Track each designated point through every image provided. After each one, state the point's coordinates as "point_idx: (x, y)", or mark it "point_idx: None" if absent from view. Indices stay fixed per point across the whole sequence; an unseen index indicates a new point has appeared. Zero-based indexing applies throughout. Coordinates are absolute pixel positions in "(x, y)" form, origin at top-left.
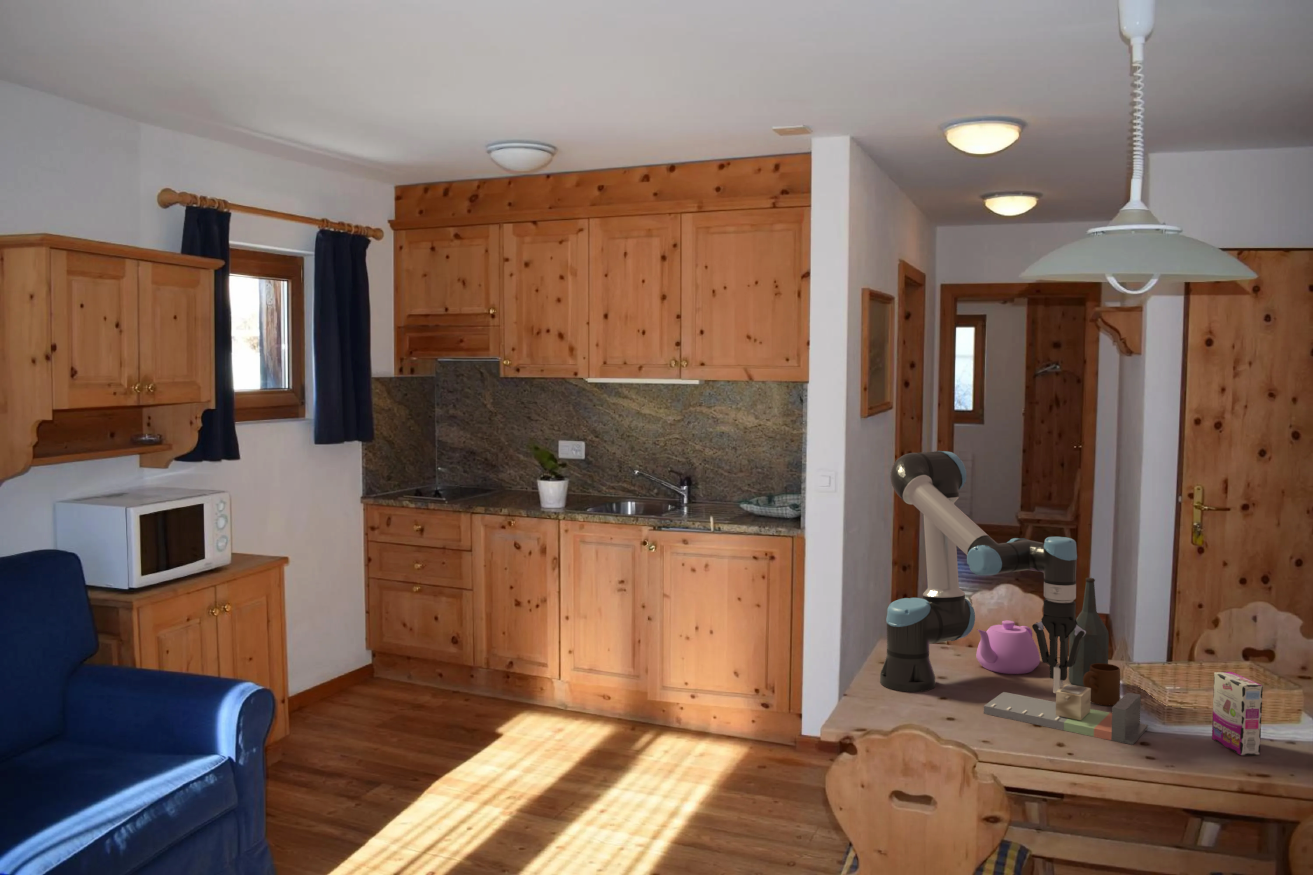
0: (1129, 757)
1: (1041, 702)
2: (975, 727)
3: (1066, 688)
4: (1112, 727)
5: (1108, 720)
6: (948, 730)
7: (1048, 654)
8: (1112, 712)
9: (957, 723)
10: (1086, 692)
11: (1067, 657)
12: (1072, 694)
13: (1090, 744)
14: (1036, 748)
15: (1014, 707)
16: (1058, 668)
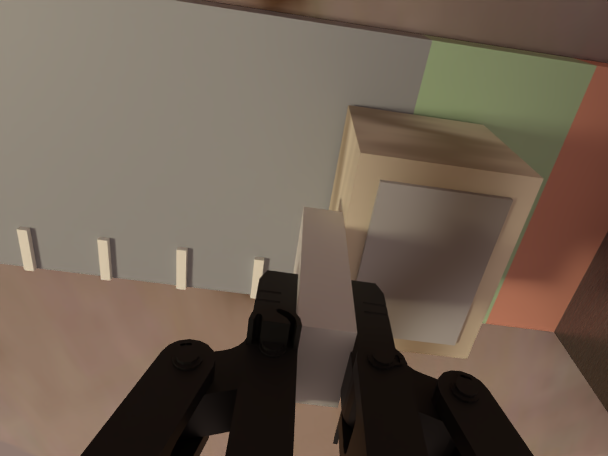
0: (575, 415)
1: (205, 70)
2: (74, 383)
3: (375, 278)
4: (566, 346)
5: (563, 202)
6: (22, 432)
7: (190, 416)
8: (601, 400)
9: (5, 375)
10: (502, 268)
11: (417, 438)
12: (416, 348)
13: (459, 370)
14: (301, 452)
15: (116, 220)
16: (326, 401)
